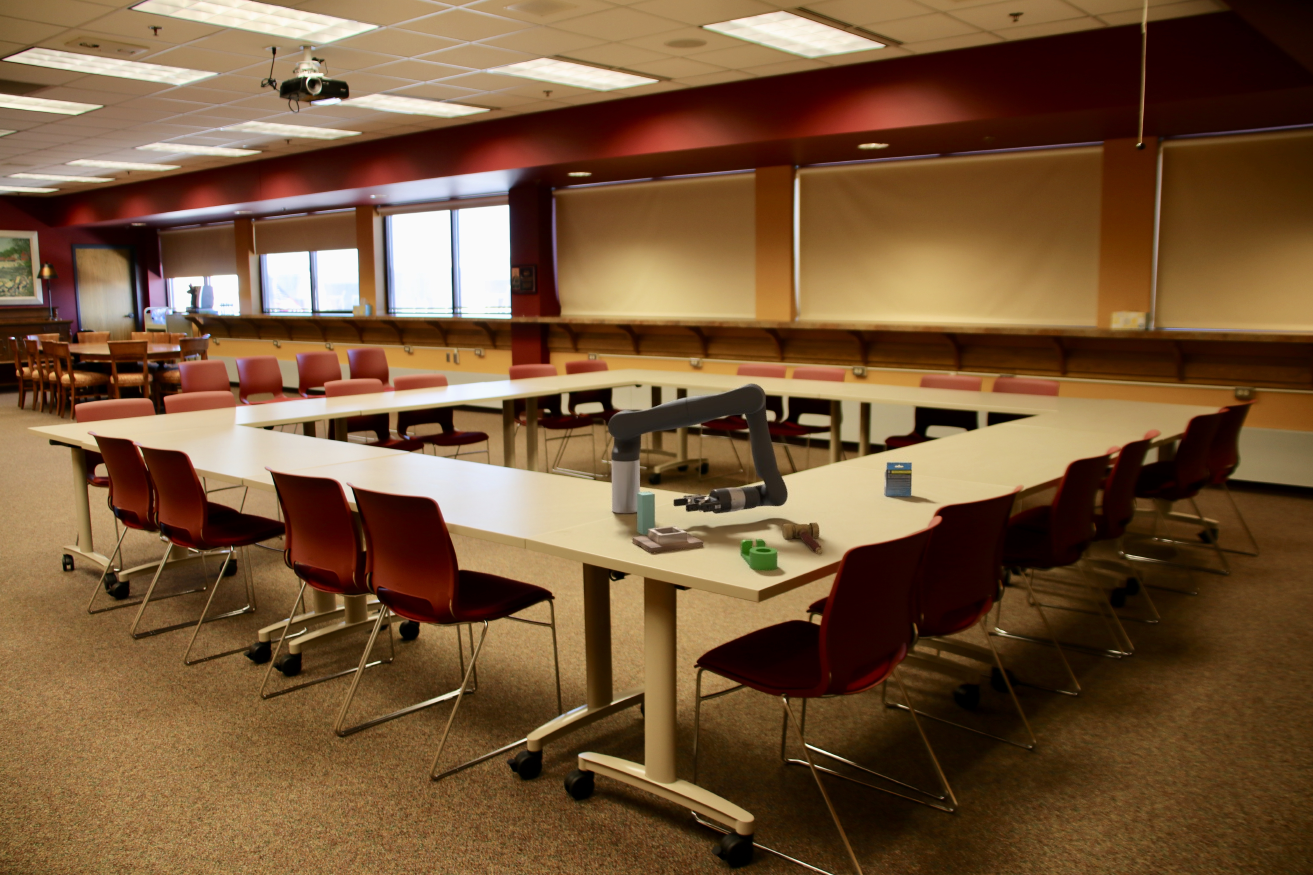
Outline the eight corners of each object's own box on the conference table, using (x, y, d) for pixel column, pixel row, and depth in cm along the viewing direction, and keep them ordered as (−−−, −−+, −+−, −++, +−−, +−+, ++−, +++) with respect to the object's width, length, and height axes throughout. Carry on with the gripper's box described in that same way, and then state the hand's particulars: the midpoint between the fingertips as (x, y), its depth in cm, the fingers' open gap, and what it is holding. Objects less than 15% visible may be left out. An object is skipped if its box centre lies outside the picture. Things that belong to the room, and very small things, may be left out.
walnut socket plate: (632, 542, 258) (632, 528, 258) (682, 536, 265) (682, 522, 264) (651, 553, 246) (651, 538, 246) (703, 546, 253) (703, 532, 252)
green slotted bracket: (780, 571, 230) (780, 553, 229) (753, 572, 229) (753, 554, 228) (765, 555, 245) (765, 538, 244) (739, 556, 244) (739, 539, 243)
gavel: (838, 543, 244) (802, 544, 243) (837, 559, 245) (802, 560, 244) (815, 520, 265) (782, 521, 263) (814, 535, 266) (781, 536, 264)
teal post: (637, 532, 270) (636, 492, 268) (649, 530, 272) (649, 491, 270) (642, 534, 266) (642, 495, 265) (655, 533, 268) (654, 493, 266)
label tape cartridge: (909, 494, 321) (910, 460, 320) (911, 497, 318) (912, 462, 316) (883, 494, 322) (884, 460, 321) (885, 496, 318) (886, 462, 317)
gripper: (716, 484, 285) (669, 489, 278) (738, 492, 272) (690, 497, 266) (716, 507, 286) (670, 512, 280) (738, 516, 273) (690, 522, 267)
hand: (680, 505), depth 273 cm, fingers open, 8 cm apart
